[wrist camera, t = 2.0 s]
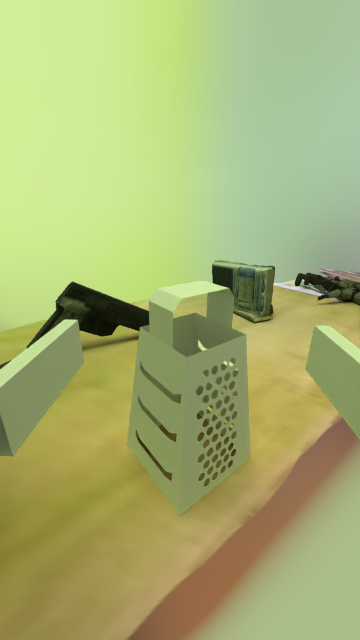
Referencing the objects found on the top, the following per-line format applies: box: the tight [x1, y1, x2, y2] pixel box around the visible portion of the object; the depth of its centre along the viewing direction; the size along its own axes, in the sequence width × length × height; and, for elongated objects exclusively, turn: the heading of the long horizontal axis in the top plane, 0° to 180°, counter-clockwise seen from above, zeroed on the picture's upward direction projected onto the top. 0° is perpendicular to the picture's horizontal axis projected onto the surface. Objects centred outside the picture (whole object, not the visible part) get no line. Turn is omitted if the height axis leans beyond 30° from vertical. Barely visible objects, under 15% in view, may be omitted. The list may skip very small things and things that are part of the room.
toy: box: [295, 273, 360, 305], centre depth 96 cm, size 30×8×30 cm
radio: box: [212, 261, 275, 322], centre depth 77 cm, size 23×9×15 cm, turn 22°
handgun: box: [27, 282, 149, 348], centre depth 55 cm, size 2×24×15 cm, turn 120°
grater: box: [127, 281, 250, 516], centre depth 27 cm, size 10×10×20 cm
